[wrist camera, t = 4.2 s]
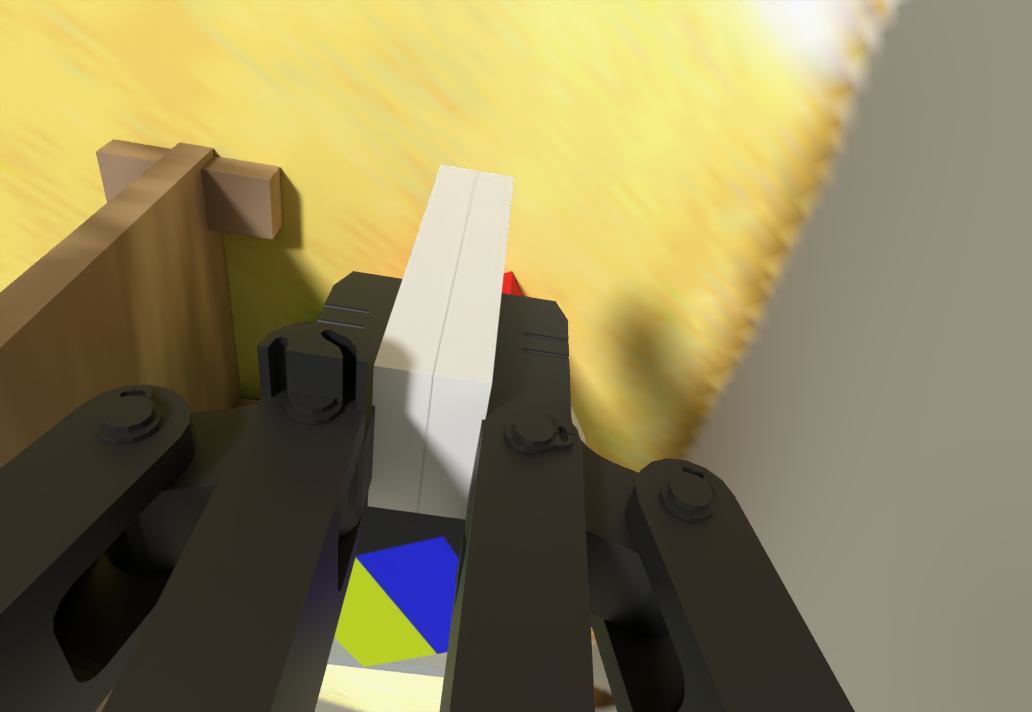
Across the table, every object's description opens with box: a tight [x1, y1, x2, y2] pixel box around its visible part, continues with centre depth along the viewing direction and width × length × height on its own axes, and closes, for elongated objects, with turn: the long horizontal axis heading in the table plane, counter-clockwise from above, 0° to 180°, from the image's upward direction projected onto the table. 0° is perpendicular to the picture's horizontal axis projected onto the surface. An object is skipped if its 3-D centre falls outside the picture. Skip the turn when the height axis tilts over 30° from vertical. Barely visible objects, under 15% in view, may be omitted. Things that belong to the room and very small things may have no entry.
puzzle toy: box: [334, 271, 592, 667], centre depth 28 cm, size 10×10×10 cm
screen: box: [0, 140, 283, 712], centre depth 23 cm, size 6×15×16 cm, turn 171°
